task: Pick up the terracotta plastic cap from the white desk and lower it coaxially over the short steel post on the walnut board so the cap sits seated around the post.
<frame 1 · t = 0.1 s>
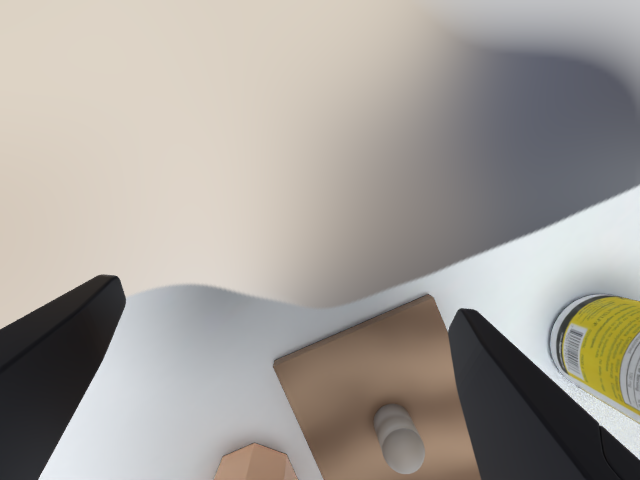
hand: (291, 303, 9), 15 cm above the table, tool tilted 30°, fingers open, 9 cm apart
supplement bottle: (590, 338, 25), on the table
post board: (388, 413, 25), on the table
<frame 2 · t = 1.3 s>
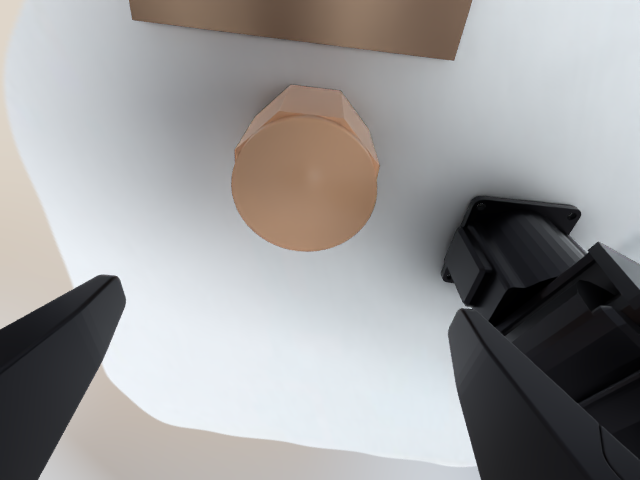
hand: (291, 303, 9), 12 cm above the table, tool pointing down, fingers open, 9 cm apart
cap: (310, 146, 19), on the table
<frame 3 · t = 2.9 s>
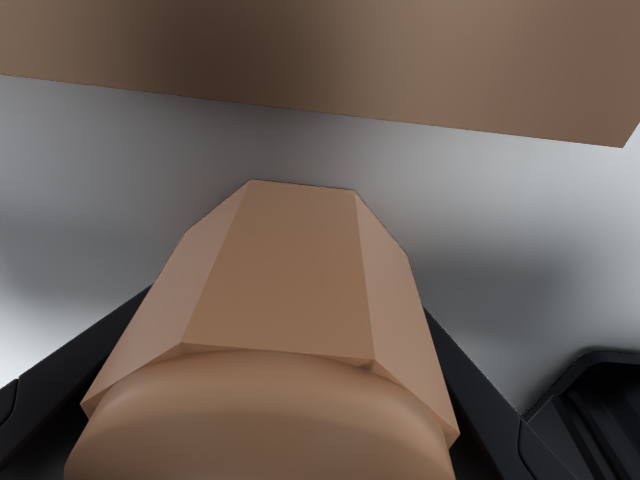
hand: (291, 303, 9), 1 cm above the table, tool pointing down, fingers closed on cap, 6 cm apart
cap: (294, 277, 10), on the table, touching gripper
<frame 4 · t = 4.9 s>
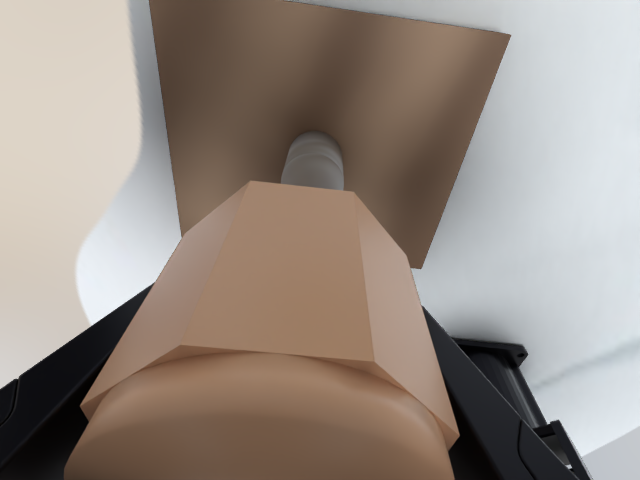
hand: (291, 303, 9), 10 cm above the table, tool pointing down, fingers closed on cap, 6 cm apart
cap: (294, 278, 10), point 9 cm above the table, touching gripper
post board: (316, 150, 17), on the table
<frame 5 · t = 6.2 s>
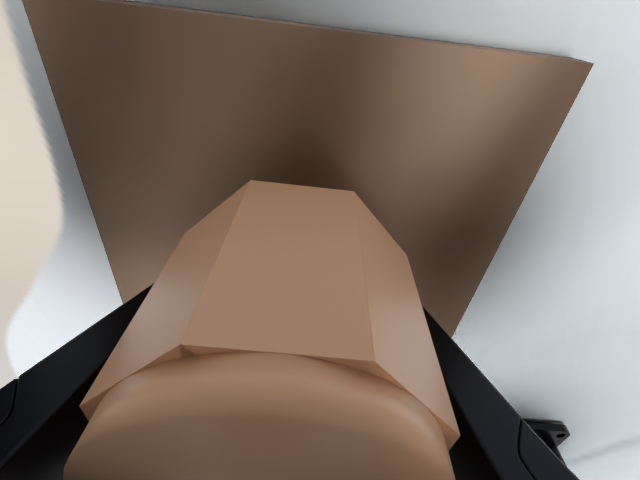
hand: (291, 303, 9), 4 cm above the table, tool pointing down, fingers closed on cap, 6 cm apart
cap: (294, 278, 10), point 3 cm above the table, touching gripper
post board: (301, 216, 13), on the table
when the fingers open (3 cm above the table, at t = 7.0 s): cap stays where it is, resting on post board.
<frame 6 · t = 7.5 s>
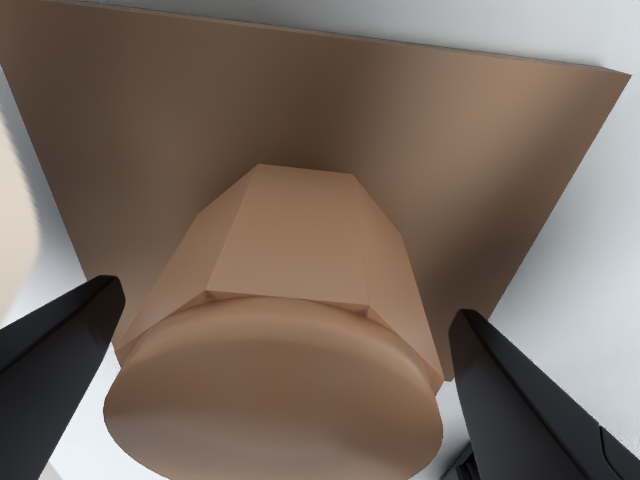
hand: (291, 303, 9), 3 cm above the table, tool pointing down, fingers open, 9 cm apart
cap: (298, 257, 11), point 1 cm above the table, touching post board
post board: (299, 237, 11), on the table
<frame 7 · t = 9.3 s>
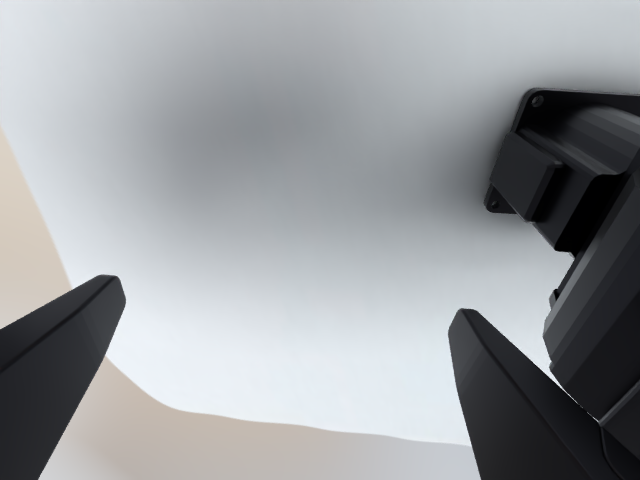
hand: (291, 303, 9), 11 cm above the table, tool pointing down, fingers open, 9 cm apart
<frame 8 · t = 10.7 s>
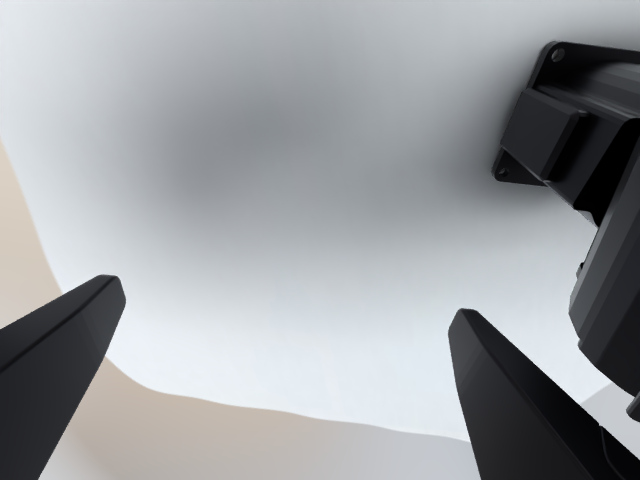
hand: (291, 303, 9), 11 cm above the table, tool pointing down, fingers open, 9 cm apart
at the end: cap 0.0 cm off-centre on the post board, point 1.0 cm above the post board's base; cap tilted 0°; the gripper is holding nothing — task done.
